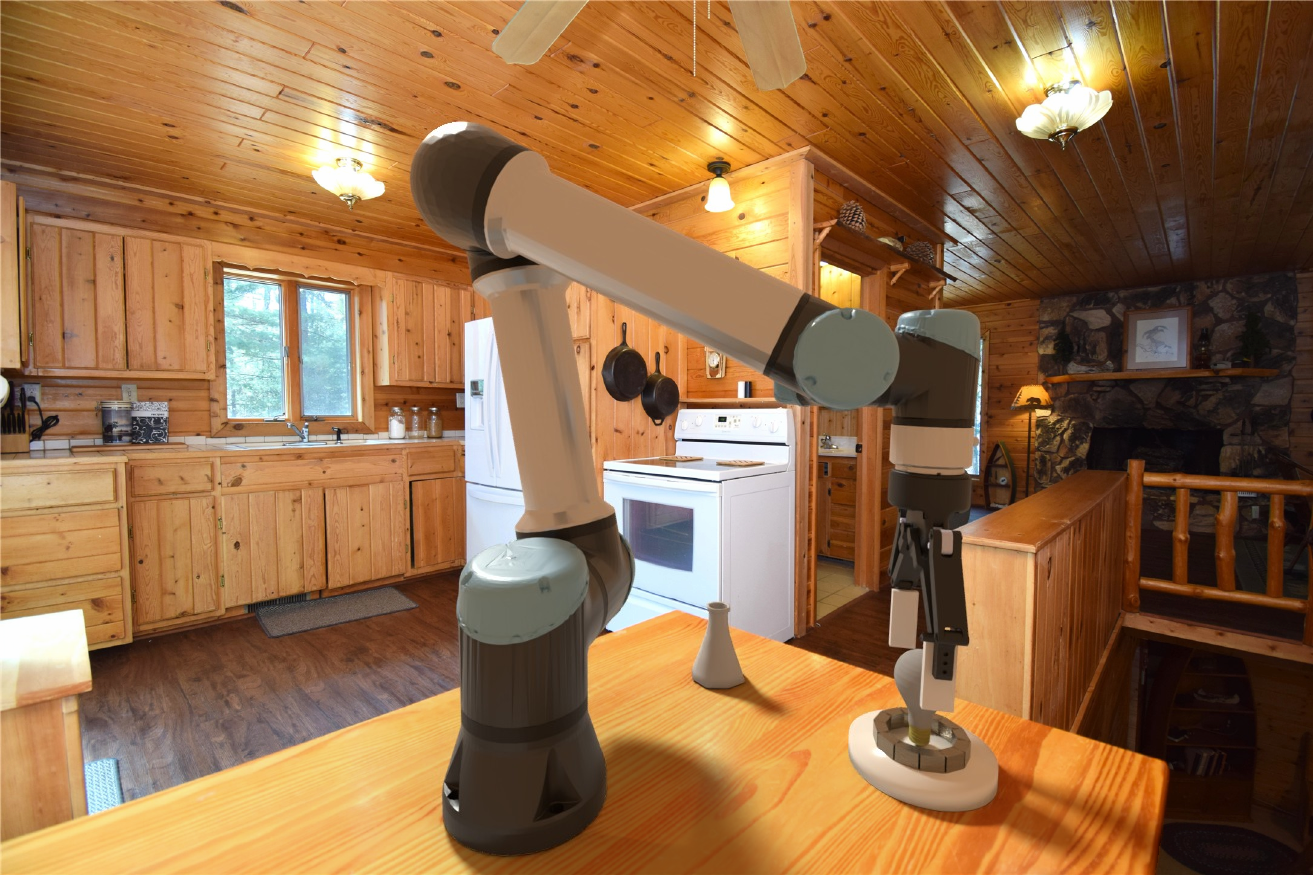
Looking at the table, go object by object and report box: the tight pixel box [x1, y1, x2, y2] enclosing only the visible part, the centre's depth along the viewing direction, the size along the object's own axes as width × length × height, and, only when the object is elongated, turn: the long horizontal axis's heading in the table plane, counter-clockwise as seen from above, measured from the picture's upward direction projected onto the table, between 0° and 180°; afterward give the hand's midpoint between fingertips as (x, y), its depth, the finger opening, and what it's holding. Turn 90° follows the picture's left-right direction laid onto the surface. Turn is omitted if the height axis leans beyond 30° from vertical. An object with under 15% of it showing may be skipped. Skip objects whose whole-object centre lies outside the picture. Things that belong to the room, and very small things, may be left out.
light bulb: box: [893, 648, 937, 746], centre depth 60 cm, size 6×5×10 cm
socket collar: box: [873, 706, 971, 774], centre depth 60 cm, size 9×9×2 cm
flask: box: [691, 601, 746, 689], centre depth 79 cm, size 7×7×10 cm
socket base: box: [847, 709, 999, 813], centre depth 60 cm, size 14×14×2 cm
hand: (917, 674), depth 60 cm, fingers open, 13 cm apart
